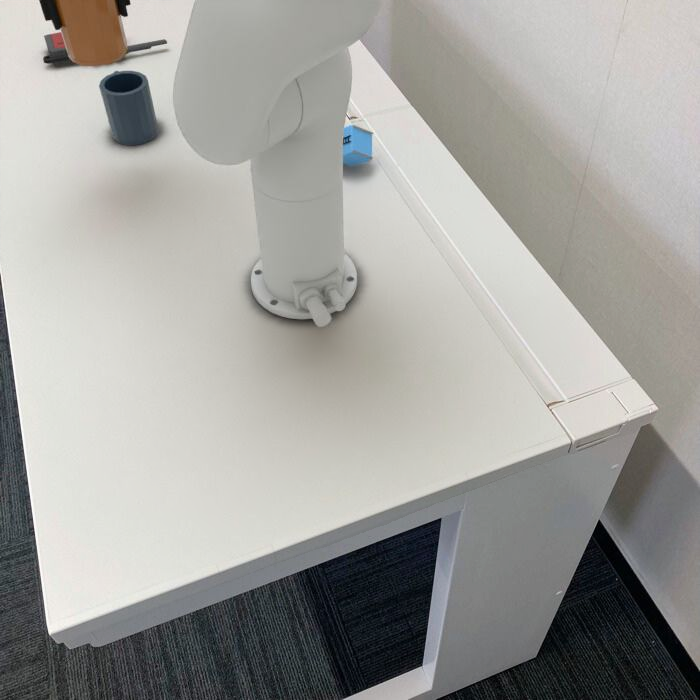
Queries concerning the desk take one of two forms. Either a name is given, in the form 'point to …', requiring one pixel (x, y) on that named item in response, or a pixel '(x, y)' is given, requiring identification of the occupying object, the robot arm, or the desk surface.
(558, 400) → the desk surface
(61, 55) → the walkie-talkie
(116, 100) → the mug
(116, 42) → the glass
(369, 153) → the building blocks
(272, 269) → the robot arm
